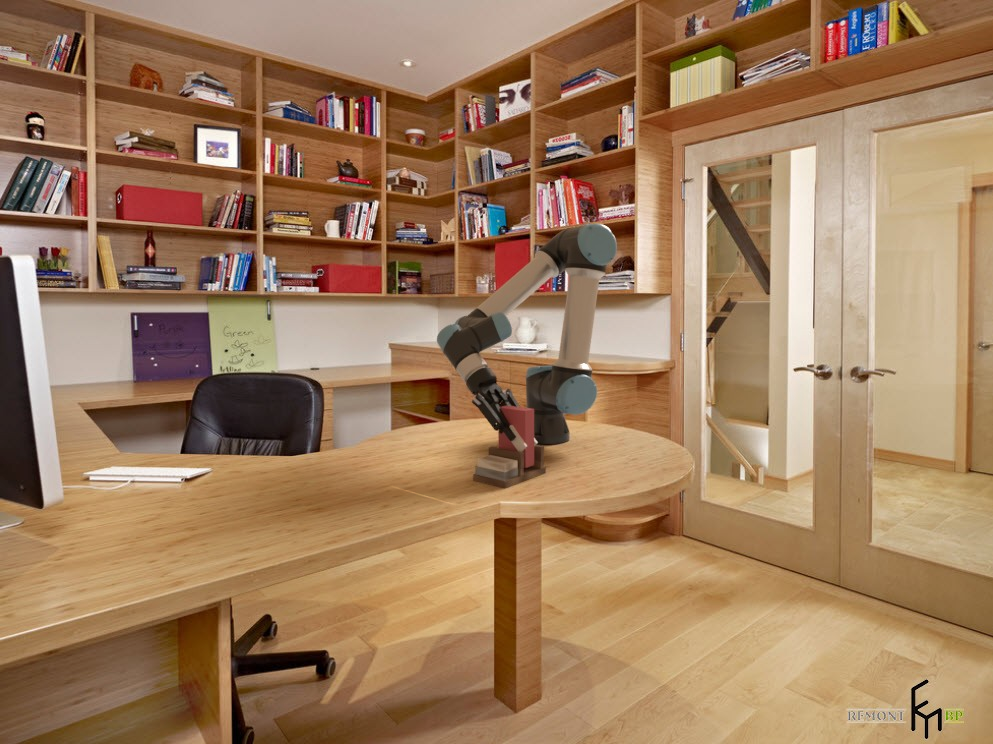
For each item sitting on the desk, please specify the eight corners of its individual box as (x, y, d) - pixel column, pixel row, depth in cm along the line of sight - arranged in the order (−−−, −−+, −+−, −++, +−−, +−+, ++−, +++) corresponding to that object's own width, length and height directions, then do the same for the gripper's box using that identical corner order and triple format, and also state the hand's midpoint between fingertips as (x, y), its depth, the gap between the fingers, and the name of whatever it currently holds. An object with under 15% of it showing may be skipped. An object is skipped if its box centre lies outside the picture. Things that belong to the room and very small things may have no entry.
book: (507, 459, 158) (506, 405, 156) (534, 464, 153) (534, 408, 151) (498, 462, 155) (497, 407, 154) (525, 468, 150) (525, 411, 148)
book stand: (514, 466, 162) (514, 439, 161) (545, 472, 155) (545, 445, 154) (473, 480, 149) (472, 451, 149) (505, 488, 143) (504, 458, 142)
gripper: (490, 381, 168) (540, 450, 159) (447, 388, 155) (498, 463, 147) (505, 362, 164) (557, 432, 155) (462, 368, 151) (516, 445, 143)
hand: (528, 447), depth 151 cm, fingers closed on book, 3 cm apart
